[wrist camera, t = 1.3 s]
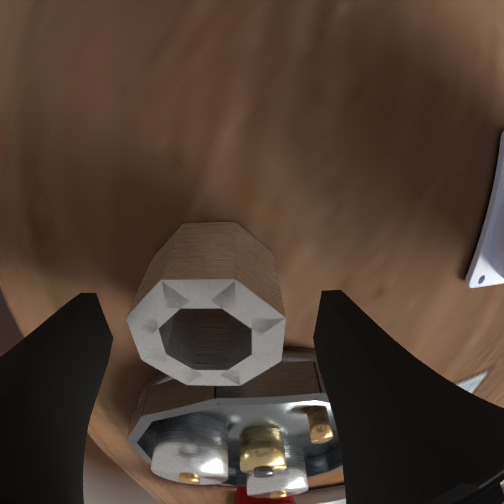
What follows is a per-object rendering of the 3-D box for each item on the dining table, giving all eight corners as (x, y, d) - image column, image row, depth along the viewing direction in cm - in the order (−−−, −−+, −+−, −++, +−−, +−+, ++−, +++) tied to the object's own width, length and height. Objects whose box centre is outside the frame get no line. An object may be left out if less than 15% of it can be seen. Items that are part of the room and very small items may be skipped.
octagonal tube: (274, 221, 10) (289, 277, 7) (270, 318, 12) (278, 384, 9) (147, 224, 10) (113, 279, 7) (166, 319, 12) (151, 382, 9)
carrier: (413, 331, 13) (451, 401, 9) (344, 449, 21) (354, 492, 17) (103, 342, 13) (72, 421, 8) (169, 456, 20) (165, 501, 16)
